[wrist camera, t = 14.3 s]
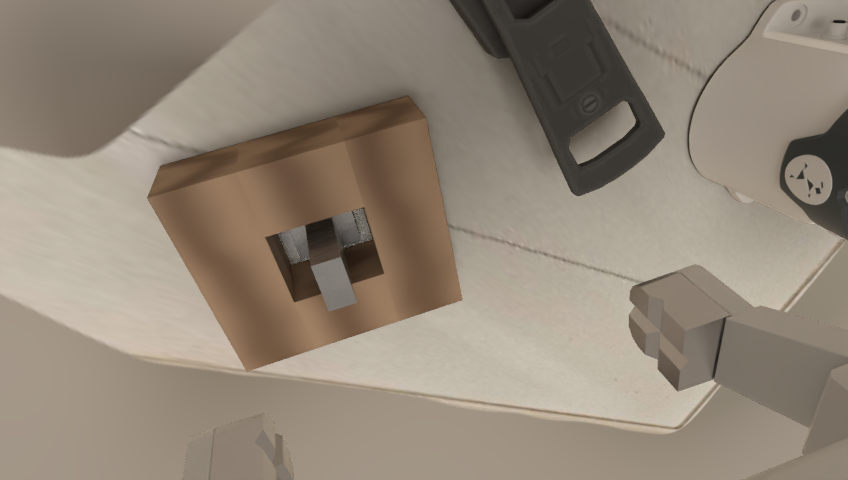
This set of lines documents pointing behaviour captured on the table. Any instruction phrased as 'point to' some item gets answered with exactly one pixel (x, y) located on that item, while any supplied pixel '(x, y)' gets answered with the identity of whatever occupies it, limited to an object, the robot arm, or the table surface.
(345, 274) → the steel bracket
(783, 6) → the robot arm
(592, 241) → the table surface
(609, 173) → the zipper pull
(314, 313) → the walnut well
